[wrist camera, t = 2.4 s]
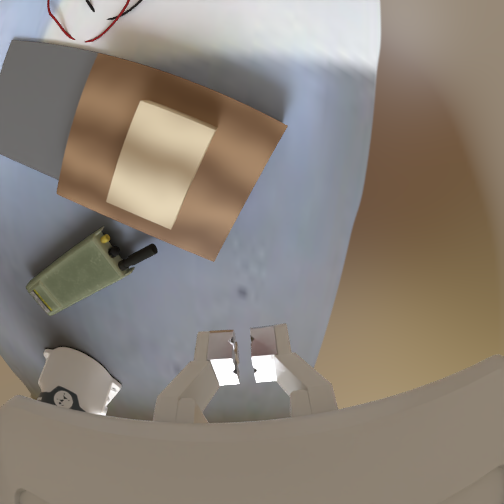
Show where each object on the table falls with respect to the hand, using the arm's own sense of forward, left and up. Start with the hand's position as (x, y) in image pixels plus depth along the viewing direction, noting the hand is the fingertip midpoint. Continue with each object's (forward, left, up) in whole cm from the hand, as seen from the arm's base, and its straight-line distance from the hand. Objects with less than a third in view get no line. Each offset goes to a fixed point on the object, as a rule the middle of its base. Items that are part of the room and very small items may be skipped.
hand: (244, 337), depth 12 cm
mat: (0, +29, -21) cm, 36 cm away
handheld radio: (-21, +12, -19) cm, 31 cm away
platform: (0, +9, -21) cm, 23 cm away
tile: (0, +8, -18) cm, 20 cm away
